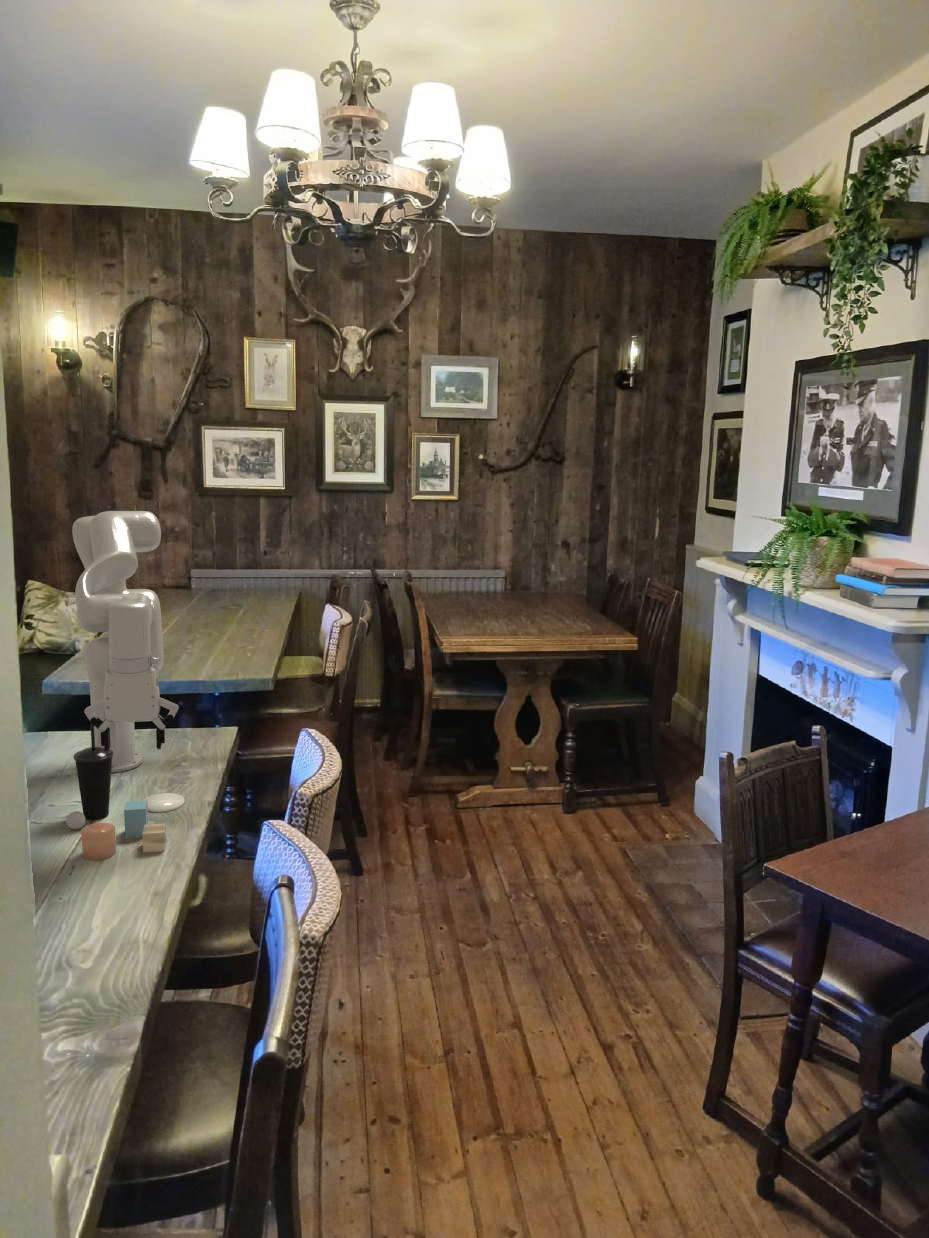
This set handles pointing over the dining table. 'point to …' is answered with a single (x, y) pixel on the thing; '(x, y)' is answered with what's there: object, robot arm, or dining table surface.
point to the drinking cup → (94, 779)
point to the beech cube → (154, 838)
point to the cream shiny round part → (164, 802)
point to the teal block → (135, 818)
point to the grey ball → (75, 820)
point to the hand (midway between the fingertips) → (133, 747)
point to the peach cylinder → (98, 841)
